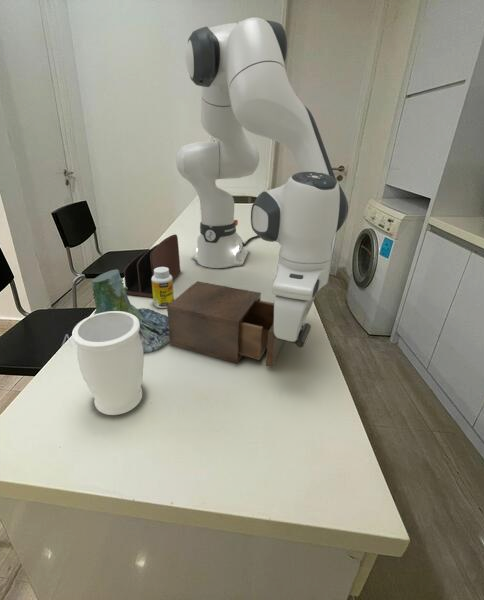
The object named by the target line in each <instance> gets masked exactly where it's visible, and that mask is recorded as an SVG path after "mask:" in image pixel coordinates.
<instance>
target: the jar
mask: <svg viewBox="0 0 484 600" xmlns="http://www.w3.org/2000/svg"><path fill="white" fill-rule="evenodd" d="M139 329H140V324H139V320H138V318H137V317H136V316H134V315H133V314H130V313H127V312H122V311H109V312H102V313H98V314H95V315H94V314H92V315H90V316H88V317H85V318H84V319H82V320H80V321H79V322H78V323H77V324H76V325H75V326H74V327H73V329H72V332H71V336H72V340H73V342H74V344H75V345H76V346H77V347H76V352H77V353H76V354H77V363H78V367H79V370H80V374H81V376H82V379H83V380H84V382H85V384H86V387H87V390H88V392H89V393H90V394H91V396H92V398H94V407H95V408H96V410H97V411H98V412H100V413H101V414H104V415H108V416H117V415H118V416H119V415H122V414H127V413H129V412H130V411H132V410H133V409H134V408H136V407H137V406H138V405H139V404H140V402H141V400H142V398H143V389H142V387H141V386H142V382H143V379H144V378H143V377H144V364H145V363H144V361H145V353H143V347H142V342H141V339H140V336H139V334H138V332H139Z"/></svg>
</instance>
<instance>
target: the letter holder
mask: <svg viewBox="0 0 484 600" xmlns="http://www.w3.org/2000/svg"><path fill="white" fill-rule="evenodd" d="M126 265H127V266H125V268H124V270H123V277H124V287H127V288H128V290H127V291H126V295H129V296H137V297H146V298H147V297H148V298H153V291H152V280H151V279H152V276H153V275H154V269H155V268H158V267H167V268H168V269H169V274H170V275H171V276H172V279H173V281H174V280H175V279H176V278H177V277H178V276H179V275H180V273H181V263H180V250H179V239H178V235H177V234H171V235H170V236H167V237H166V238H165V239H163V240H162V241H161V242H159V243H158V244H156V245H154V246H153V247H151V248H149V249H147V250H145V251H143V252H142V253H140V254H139V255H137V256H136V257H135V258H134V259H132V260H131V261H130V262H129V263H128V264H126Z"/></svg>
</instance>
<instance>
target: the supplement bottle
mask: <svg viewBox="0 0 484 600" xmlns="http://www.w3.org/2000/svg"><path fill="white" fill-rule="evenodd" d="M151 280H152V291H153V297H152V302H153V305H154V307H156V308H159V309H167V305H169V304H170V303H171V302H172V301H174V300H175V298H174V280H173V279H172V276H171V275H170V274H169V269H168V268H167V267H158V268H155V269H154V275H153V276H152V279H151Z"/></svg>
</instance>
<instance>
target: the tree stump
mask: <svg viewBox="0 0 484 600" xmlns="http://www.w3.org/2000/svg"><path fill="white" fill-rule="evenodd" d="M91 285H92V286H91V288H92V291H93V292H92V296H93V300H94V304H95V311H94V313H93V315H95V314H98V313H102V312H109V311H122V312H127V313H130V314H133V315H134V316H136V317H137V318H138V320H139V324H140V329H139V332H138V334H139V336H140V339H141V342H142V347H143V354H146V353H152V352H156V351H158V350H160V349H161V348H163V347H164V346H166V345H168V344H170V337H169V324H168V315H166V314H163V313H160V312H158V311H155V310H154V309H150V308H145V307H141V308H137V307H136V306H134V305H133V304H131V301H130V299H129V297H128V294H126V291H127V290H128V288H127V287H125V282H124V279H123V278H122V277H121V273H120V270H119V269H116V268H115V269H111V270H109V271H106V272H104V273H101V274H99V275H98V276H96V277H94V278H93V279H92V281H91Z"/></svg>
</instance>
